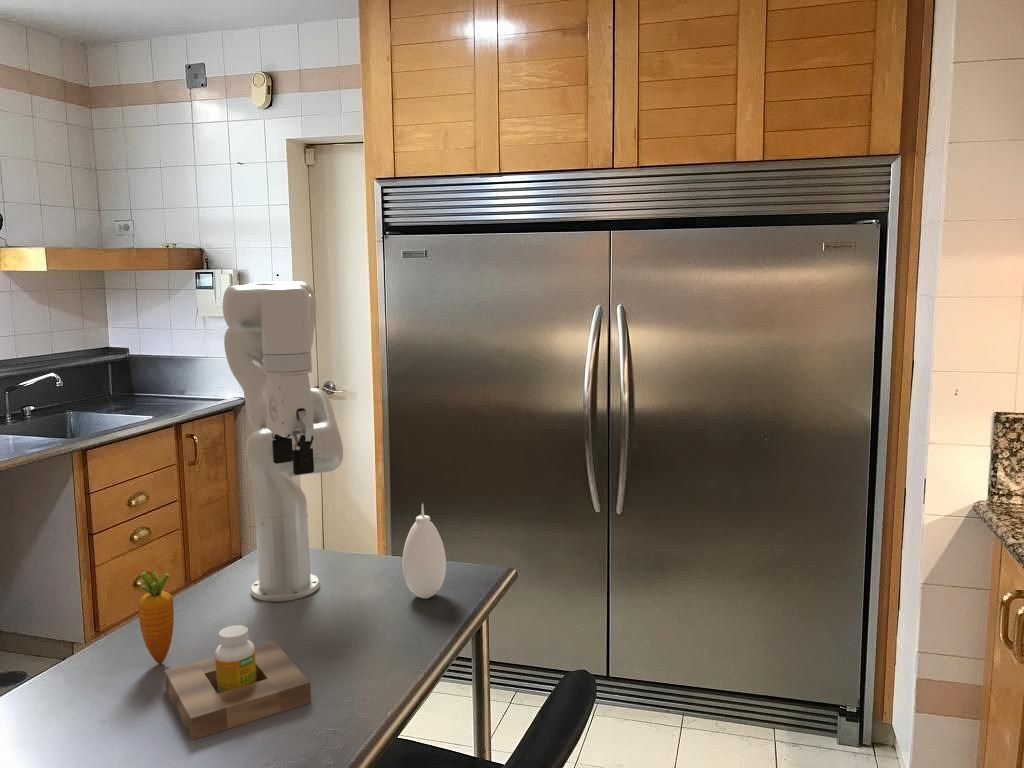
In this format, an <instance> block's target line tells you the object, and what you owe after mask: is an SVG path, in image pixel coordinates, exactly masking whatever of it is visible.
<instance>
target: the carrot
mask: <svg viewBox="0 0 1024 768" xmlns="http://www.w3.org/2000/svg"><path fill="white" fill-rule="evenodd" d="M150 575H151V576H150ZM140 577H141V579H142V580H143V581H144V583H145V584H146V585H144V584H143V585H141V587H140V589H142V590H144V591H145V592H147V593H145V594H144V595H143V596H141V598H139V600H138V602H137V610H138V617H139V618H138V620H139V625H140V632H141V634H142V638H143V641H144V645H145V647H146V649H147V651H148V652H149V655H150V656H151V657H152V659H153V660H154V661H155V663H157V664H158V665H162V664H163V663H164V661H165V660H166V657H167V655H168V653H169V650H170V647H171V644H172V640H173V639H172V638H173V633H174V625H175V624H174V623H175V619H174V618H175V616H174V598H173V596H172V594H170V593H169V592H167V591H164V590H163V588H165V587H164V586H165V585H166V583H167V580H168V579H169V578H170V574H168V573H164V575H162V578H161V579H160V577H159V576H158V574H157V573H156V572H152V573H151V574H149V573H148V572H147V571H144V572H142V573H141V574H140Z"/></svg>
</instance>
